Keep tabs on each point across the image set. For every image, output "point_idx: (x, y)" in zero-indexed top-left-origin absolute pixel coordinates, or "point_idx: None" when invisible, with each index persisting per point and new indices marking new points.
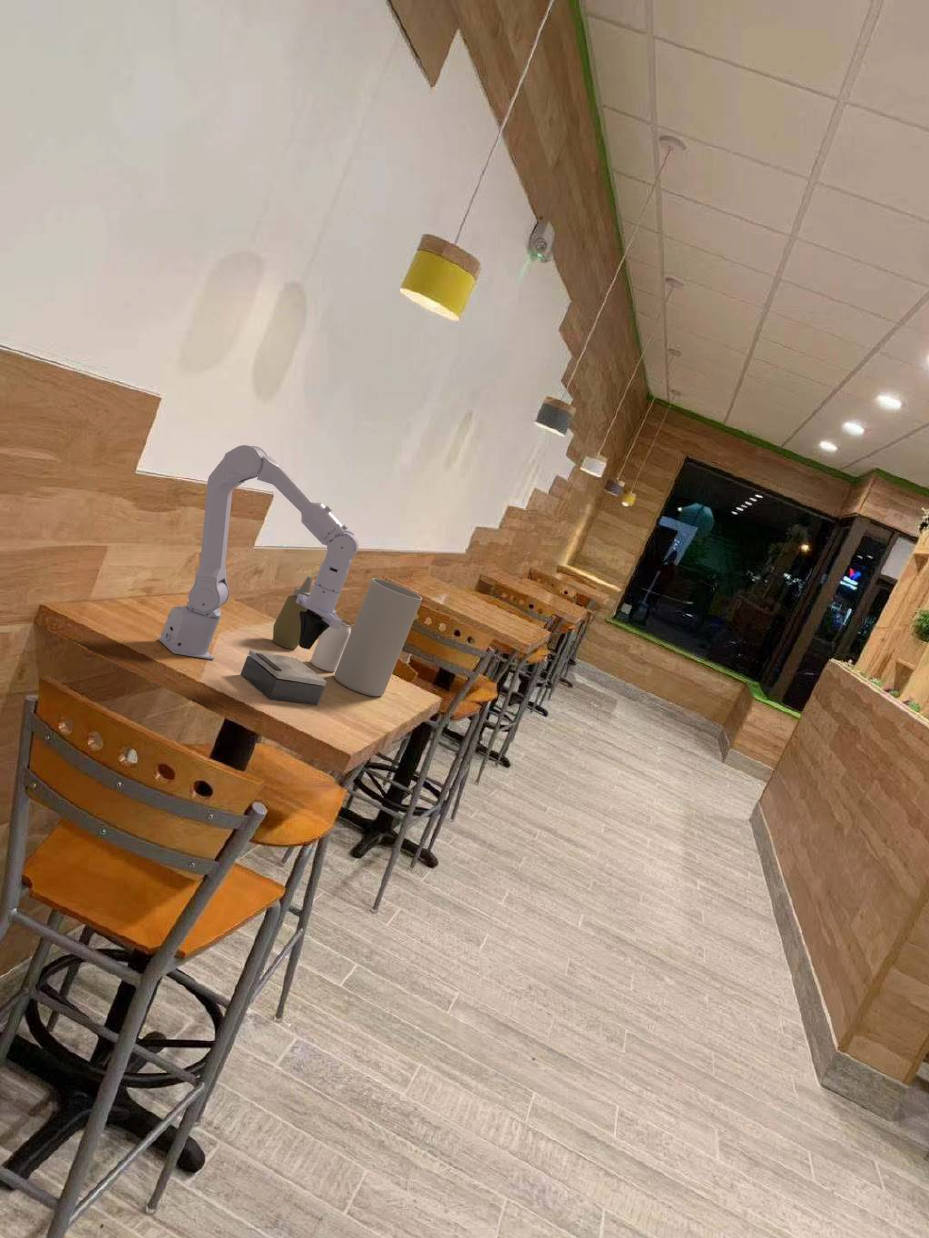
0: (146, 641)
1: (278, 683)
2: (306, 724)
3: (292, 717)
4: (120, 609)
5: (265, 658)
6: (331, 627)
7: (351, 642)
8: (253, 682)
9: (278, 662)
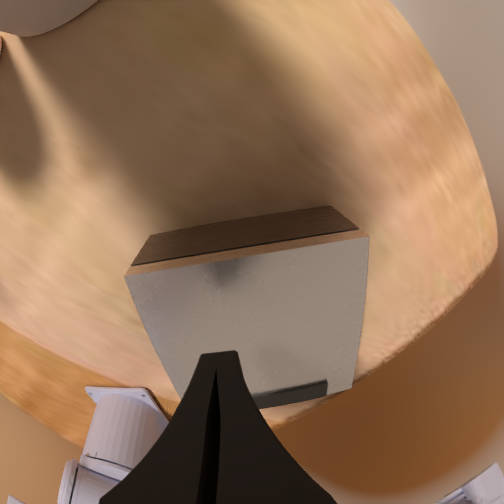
0: None
1: None
2: (429, 292)
3: (404, 312)
4: (46, 418)
5: None
6: (464, 483)
7: None
8: None
9: (251, 374)
